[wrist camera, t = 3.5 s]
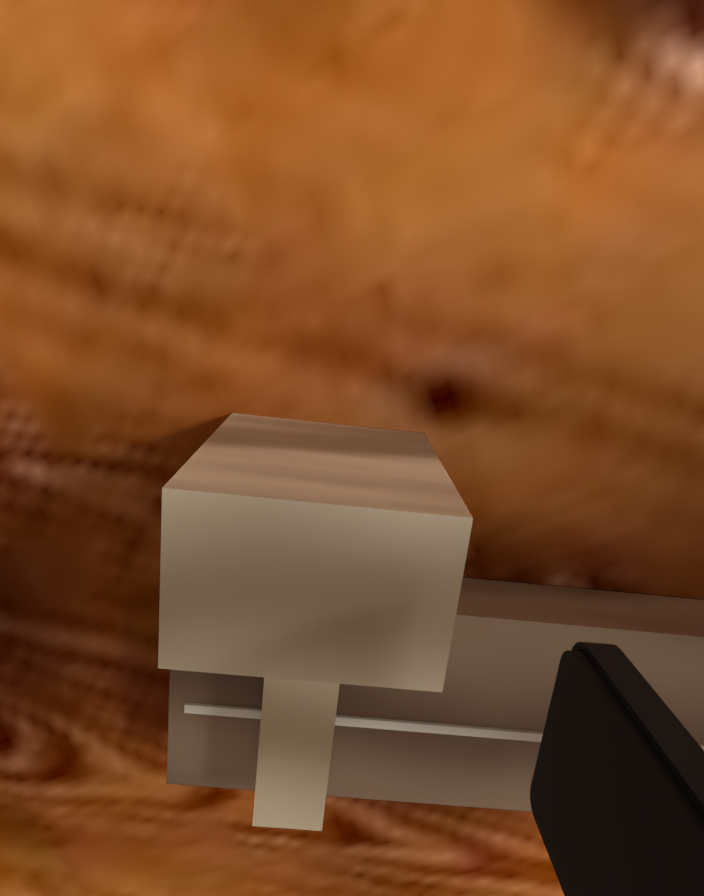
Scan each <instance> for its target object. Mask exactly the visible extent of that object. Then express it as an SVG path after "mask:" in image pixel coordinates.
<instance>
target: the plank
mask: <svg viewBox="0 0 704 896" xmlns="http://www.w3.org/2000/svg"><path fill="white" fill-rule="evenodd" d="M577 642H590V643H604V644H613V645H616V646H618V647H619V648H620V649H621V650H622V651H623V653H624V654H625V655H626V656H627V658H628V659H629V660H630V661H631V662H632V664H633V665H634V666H635V667H636V669H637V670H638V671H639V672H640V673H641V675H642V676H643V677H644V678H645V679H646V681H647V682H648V683H649V684H650V686H651V687H652V688H653V689H654V690H655V692H656V693H657V694H658V695H659V697H660V698H661V699H662V700H663V701H664V703H665V704H666V705H667V706H668V707H669V709H670V710H671V711H672V712H673V714H674V715H675V716H676V717H677V718H678V720H679V721H680V722H681V723H682V725H683V726H684V727H685V728H686V729H687V731H688V732H689V733H690V734H691V735H692V737H693V738H694V739H695V740H696V742H697V743H698V744H699V745H700V746H701V748H702V749H703V750H704V600H700V599H689V598H678V597H668V596H657V595H646V594H636V593H625V592H614V591H604V590H593V589H582V588H572V587H561V586H550V585H540V584H529V583H518V582H508V581H497V580H486V579H476V578H465V577H463V579H462V584H461V590H460V595H459V601H458V607H457V612H456V618H455V624H454V629H453V635H452V640H451V646H450V652H449V657H448V663H447V669H446V674H445V680H444V685H443V691H442V692H432V691H420V690H408V689H396V688H384V687H373V686H361V685H349V684H340V686H339V694H338V702H337V711H336V719H335V727H334V735H333V743H332V752H331V760H330V768H329V776H328V785H327V793H326V796H335V797H348V798H361V799H375V800H388V801H401V802H414V803H427V804H440V805H453V806H466V807H479V808H492V809H505V810H518V811H531V812H532V808H531V802H530V788H531V783H532V778H533V774H534V770H535V765H536V761H537V757H538V753H539V748H540V744H541V740H542V736H543V731H544V727H545V723H546V719H547V714H548V710H549V706H550V702H551V697H552V693H553V689H554V684H555V680H556V676H557V672H558V667H559V663H560V659H561V656H562V654H563V653H564V651H567V650H570V651H571V650H572V647H573V646H574V645H575V643H577ZM263 687H264V677H254V676H242V675H230V674H218V673H206V672H194V671H182V670H170V681H169V716H168V751H167V784H179V785H192V786H205V787H218V788H231V789H244V790H255V786H256V774H257V761H258V749H259V737H260V724H261V712H262V699H263Z"/></svg>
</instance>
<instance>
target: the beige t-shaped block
mask: <svg viewBox="0 0 704 896" xmlns="http://www.w3.org/2000/svg"><path fill="white" fill-rule="evenodd" d="M472 522H473V517H472V515H471V513H470V512H469V510H468V508H467V506H466V505H465V503H464V501H463V500H462V498H461V496H460V494H459V493H458V491H457V489H456V487H455V486H454V484H453V482H452V481H451V479H450V477H449V475H448V474H447V472H446V470H445V468H444V467H443V465H442V463H441V462H440V460H439V458H438V456H437V455H436V453H435V451H434V449H433V448H432V446H431V444H430V443H429V441H428V439H427V437H426V436H425V434H424V433H420V432H410V431H400V430H391V429H381V428H372V427H362V426H352V425H343V424H333V423H324V422H314V421H304V420H295V419H285V418H275V417H266V416H256V415H247V414H237V413H232V414H231V415H230V416H229V417H228V418H227V419H226V420H225V421H224V422H223V423H222V424H221V425H220V426H219V427H218V429H217V430H216V431H215V432H214V433H213V434H212V435H211V436H210V437H209V438H208V439H207V440H206V441H205V442H204V444H203V445H202V446H201V447H200V448H199V449H198V450H197V451H196V452H195V453H194V454H193V455H192V456H191V457H190V459H189V460H188V461H187V462H186V463H185V464H184V465H183V466H182V467H181V468H180V469H179V470H178V471H177V472H176V474H175V475H174V476H173V477H172V478H171V479H170V480H169V481H168V482H167V483H166V484H165V485H164V486H163V487H162V516H161V560H160V603H159V646H158V669H170V670H182V671H194V672H206V673H218V674H230V675H242V676H254V677H264V687H263V699H262V712H261V724H260V737H259V749H258V761H257V774H256V786H255V799H254V811H253V824H252V826H260V827H274V828H287V829H301V830H315V831H322V826H323V817H324V809H325V801H326V793H327V785H328V776H329V768H330V760H331V752H332V743H333V735H334V727H335V719H336V711H337V702H338V694H339V686H340V684H349V685H361V686H373V687H384V688H396V689H408V690H420V691H432V692H442V691H443V685H444V680H445V674H446V669H447V663H448V657H449V652H450V646H451V640H452V635H453V629H454V624H455V618H456V612H457V607H458V601H459V595H460V590H461V584H462V579H463V573H464V567H465V562H466V556H467V551H468V545H469V539H470V534H471V528H472Z"/></svg>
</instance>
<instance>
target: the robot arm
mask: <svg viewBox="0 0 704 896" xmlns="http://www.w3.org/2000/svg"><path fill="white" fill-rule="evenodd" d="M530 802H531V808H532V812H533V816H534V818H535V821H536V824H537V826H538V829H539V831H540V834H541V836H542V839H543V841H544V844H545V847H546V849H547V852H548V854H549V857H550V859H551V862H552V864H553V867H554V870H555V872H556V875H557V877H558V880H559V882H560V885H561V887H562V890H563V893H564V895H565V896H704V750H703V749H702V748H701V746H700V745H699V744H698V743H697V742H696V740H695V739H694V738H693V737H692V735H691V734H690V733H689V732H688V731H687V729H686V728H685V727H684V726H683V725H682V723H681V722H680V721H679V720H678V718H677V717H676V716H675V715H674V714H673V712H672V711H671V710H670V709H669V707H668V706H667V705H666V704H665V703H664V701H663V700H662V699H661V698H660V697H659V695H658V694H657V693H656V692H655V690H654V689H653V688H652V687H651V686H650V684H649V683H648V682H647V681H646V679H645V678H644V677H643V676H642V675H641V673H640V672H639V671H638V670H637V669H636V667H635V666H634V665H633V664H632V662H631V661H630V660H629V659H628V658H627V656H626V655H625V654H624V653H623V651H622V650H621V649H620V648H619V647H618V646H616V645H613V644H604V643H590V642H577V643H575V645H574V646H573V647H572V650H571V651H570V650H567V651H564V653H563V654H562V656H561V659H560V663H559V667H558V672H557V676H556V680H555V684H554V689H553V693H552V697H551V702H550V706H549V710H548V714H547V719H546V723H545V727H544V731H543V736H542V740H541V744H540V748H539V753H538V757H537V761H536V765H535V770H534V774H533V778H532V783H531V788H530Z"/></svg>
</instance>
